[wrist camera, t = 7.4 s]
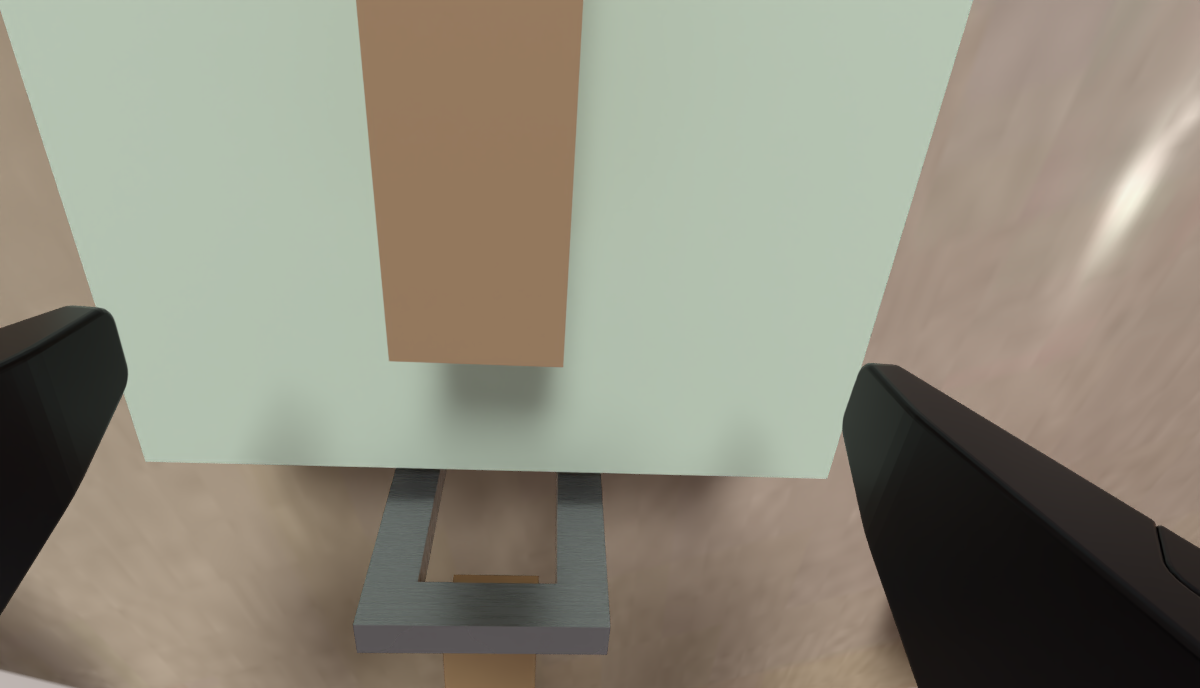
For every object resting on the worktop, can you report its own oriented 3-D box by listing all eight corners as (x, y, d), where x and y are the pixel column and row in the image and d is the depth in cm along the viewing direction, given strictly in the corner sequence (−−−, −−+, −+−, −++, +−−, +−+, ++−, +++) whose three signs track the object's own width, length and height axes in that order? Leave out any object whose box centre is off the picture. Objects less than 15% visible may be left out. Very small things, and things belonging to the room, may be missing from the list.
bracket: (589, 348, 24) (606, 655, 15) (437, 343, 23) (357, 652, 14) (591, 327, 23) (610, 627, 14) (436, 320, 23) (353, 625, 14)
